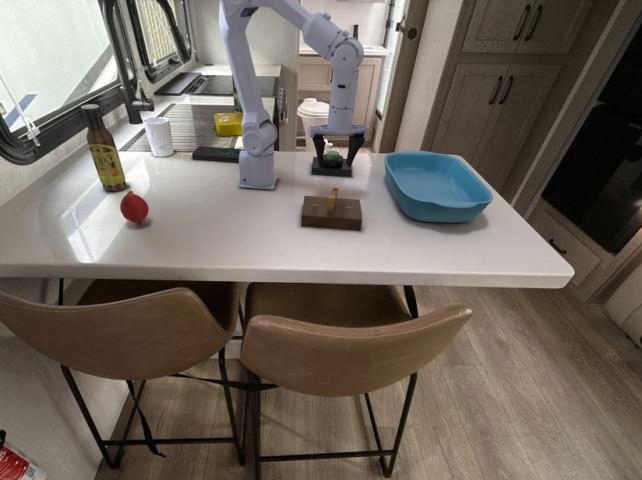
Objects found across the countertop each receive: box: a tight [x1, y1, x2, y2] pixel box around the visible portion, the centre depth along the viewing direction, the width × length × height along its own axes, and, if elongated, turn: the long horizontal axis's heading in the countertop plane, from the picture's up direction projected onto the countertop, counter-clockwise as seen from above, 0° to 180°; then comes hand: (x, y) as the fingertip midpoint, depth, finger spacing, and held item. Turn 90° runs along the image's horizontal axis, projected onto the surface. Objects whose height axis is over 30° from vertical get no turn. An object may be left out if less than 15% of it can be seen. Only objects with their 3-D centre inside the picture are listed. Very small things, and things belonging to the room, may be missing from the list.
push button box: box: [310, 153, 353, 178], centre depth 102 cm, size 12×9×4 cm
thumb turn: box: [327, 186, 339, 212], centre depth 78 cm, size 6×1×4 cm, turn 164°
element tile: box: [213, 112, 243, 137], centre depth 129 cm, size 15×15×5 cm
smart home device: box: [191, 145, 245, 164], centre depth 109 cm, size 8×2×20 cm
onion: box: [119, 189, 150, 224], centre depth 75 cm, size 6×6×8 cm
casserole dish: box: [384, 150, 494, 223], centre depth 89 cm, size 37×22×7 cm, turn 179°
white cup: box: [142, 116, 175, 158], centre depth 107 cm, size 8×8×10 cm
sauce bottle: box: [80, 103, 127, 192], centre depth 84 cm, size 6×6×20 cm
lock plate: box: [300, 195, 363, 232], centre depth 81 cm, size 14×10×3 cm
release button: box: [326, 150, 340, 160], centre depth 101 cm, size 4×4×2 cm
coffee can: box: [231, 74, 243, 113], centre depth 145 cm, size 10×10×14 cm
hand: (334, 165), depth 85 cm, fingers open, 7 cm apart
